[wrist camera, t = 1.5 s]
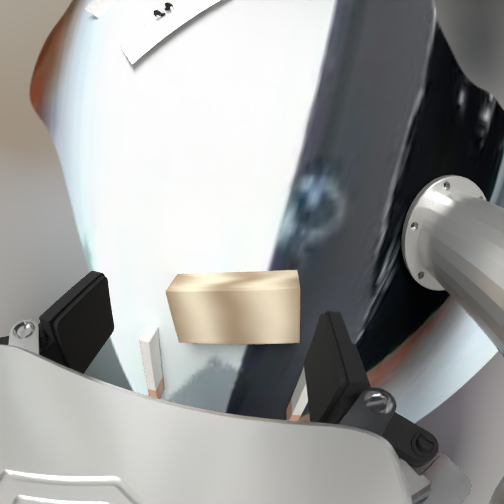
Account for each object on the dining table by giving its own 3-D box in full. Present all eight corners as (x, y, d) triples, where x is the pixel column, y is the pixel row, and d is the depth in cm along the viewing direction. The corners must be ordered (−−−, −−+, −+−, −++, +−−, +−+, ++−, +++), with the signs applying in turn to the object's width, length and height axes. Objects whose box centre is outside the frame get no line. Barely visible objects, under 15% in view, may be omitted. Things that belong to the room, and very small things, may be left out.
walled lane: (318, 353, 30) (321, 371, 27) (294, 410, 34) (295, 426, 32) (148, 324, 30) (139, 340, 27) (156, 386, 35) (150, 401, 32)
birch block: (296, 268, 26) (300, 288, 23) (296, 318, 29) (299, 342, 25) (178, 272, 28) (165, 291, 24) (189, 320, 30) (179, 342, 26)
